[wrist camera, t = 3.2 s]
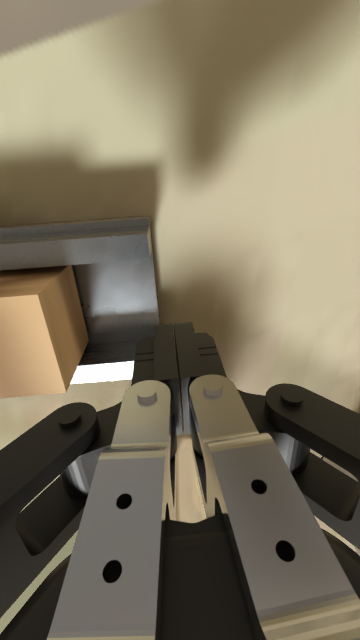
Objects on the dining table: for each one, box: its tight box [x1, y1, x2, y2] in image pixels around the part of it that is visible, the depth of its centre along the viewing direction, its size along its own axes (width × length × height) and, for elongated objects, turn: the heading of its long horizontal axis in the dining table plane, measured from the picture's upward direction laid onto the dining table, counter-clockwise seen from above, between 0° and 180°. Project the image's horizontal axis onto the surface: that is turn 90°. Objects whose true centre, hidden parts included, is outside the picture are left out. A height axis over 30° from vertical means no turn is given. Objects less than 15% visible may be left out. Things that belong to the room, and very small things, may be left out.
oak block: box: [0, 265, 89, 398], centre depth 15 cm, size 5×5×5 cm
